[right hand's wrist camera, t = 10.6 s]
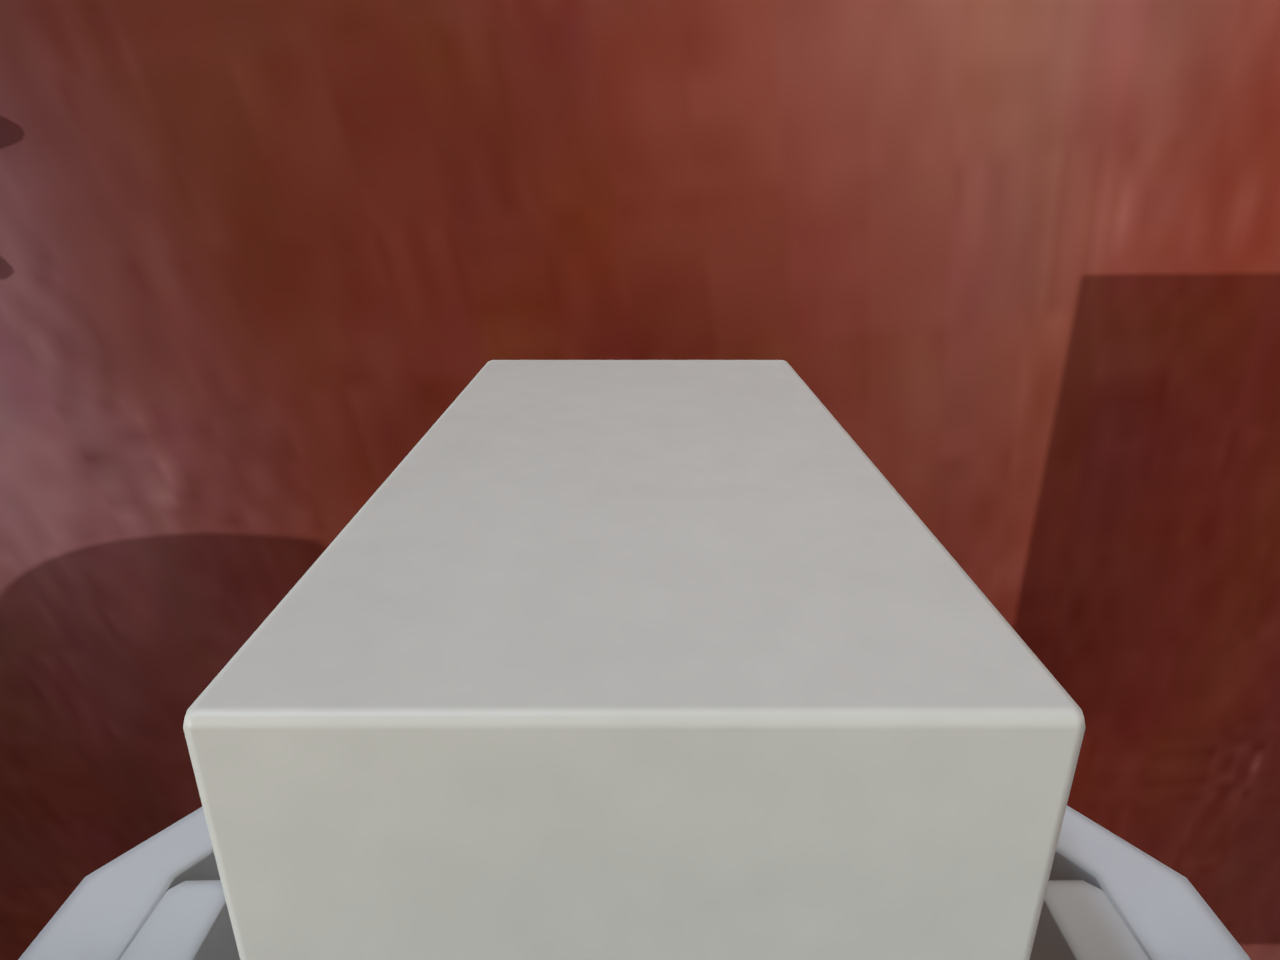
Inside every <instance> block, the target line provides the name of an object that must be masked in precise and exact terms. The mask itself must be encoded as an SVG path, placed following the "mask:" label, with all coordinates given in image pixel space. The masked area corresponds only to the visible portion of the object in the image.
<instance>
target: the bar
mask: <svg viewBox="0 0 1280 960" xmlns="http://www.w3.org/2000/svg"><path fill="white" fill-rule="evenodd" d="M1085 728H1086V727H1085V720H1084V716H1083V712H1082V709H1081V708H1080V707H1079V706H1078V705H1077V703H1076V702H1075V701H1074V700H1073V699H1072V698H1071V696H1070V695H1069V694H1068V693H1067V692H1066V691H1065V689H1064V688H1063V687H1062V686H1061V685H1060V683H1059V682H1058V681H1057V680H1056V679H1055V678H1054V676H1053V675H1052V674H1051V673H1050V672H1049V670H1048V669H1047V668H1046V667H1045V666H1044V665H1043V663H1042V662H1041V661H1040V660H1039V659H1038V657H1037V656H1036V655H1035V654H1034V653H1033V652H1032V650H1031V649H1030V648H1029V647H1028V646H1027V644H1026V643H1025V642H1024V641H1023V640H1022V639H1021V637H1020V636H1019V635H1018V634H1017V633H1016V632H1015V630H1014V629H1013V628H1012V627H1011V626H1010V624H1009V623H1008V622H1007V621H1006V620H1005V619H1004V617H1003V616H1002V615H1001V614H1000V613H999V611H998V610H997V609H996V608H995V607H994V606H993V604H992V603H991V602H990V601H989V600H988V598H987V597H986V596H985V595H984V594H983V593H982V591H981V590H980V589H979V588H978V587H977V585H976V584H975V583H974V582H973V581H972V580H971V578H970V577H969V576H968V575H967V574H966V572H965V571H964V570H963V569H962V568H961V567H960V565H959V564H958V563H957V562H956V561H955V560H954V558H953V557H952V556H951V555H950V554H949V552H948V551H947V550H946V549H945V548H944V547H943V545H942V544H941V543H940V542H939V541H938V539H937V538H936V537H935V536H934V535H933V534H932V532H931V531H930V530H929V529H928V528H927V526H926V525H925V524H924V523H923V522H922V521H921V519H920V518H919V517H918V516H917V515H916V513H915V512H914V511H913V510H912V509H911V508H910V506H909V505H908V504H907V503H906V502H905V501H904V499H903V498H902V497H901V496H900V495H899V493H898V492H897V491H896V490H895V489H894V488H893V486H892V485H891V484H890V483H889V482H888V480H887V479H886V478H885V477H884V476H883V475H882V473H881V472H880V471H879V470H878V469H877V467H876V466H875V465H874V464H873V463H872V462H871V460H870V459H869V458H868V457H867V456H866V454H865V453H864V452H863V451H862V450H861V449H860V447H859V446H858V445H857V444H856V443H855V442H854V440H853V439H852V438H851V437H850V436H849V434H848V433H847V432H846V431H845V430H844V429H843V427H842V426H841V425H840V424H839V423H838V421H837V420H836V419H835V418H834V417H833V416H832V414H831V413H830V412H829V411H828V410H827V408H826V407H825V406H824V405H823V404H822V403H821V401H820V400H819V399H818V398H817V397H816V395H815V394H814V393H813V392H812V391H811V390H810V388H809V387H808V386H807V385H806V384H805V383H804V381H803V380H802V379H801V378H800V377H799V375H798V374H797V373H796V372H795V371H794V370H793V368H792V367H791V366H790V365H789V364H788V362H786V361H784V360H491V361H489V362H487V364H486V365H485V366H484V367H483V368H482V369H481V370H480V372H479V373H478V374H477V375H476V376H475V377H474V379H473V380H472V381H471V382H470V383H469V384H468V386H467V387H466V388H465V389H464V390H463V391H462V392H461V394H460V395H459V396H458V397H457V398H456V399H455V401H454V402H453V403H452V404H451V405H450V406H449V408H448V409H447V410H446V411H445V412H444V413H443V414H442V416H441V417H440V418H439V419H438V420H437V421H436V423H435V424H434V425H433V426H432V427H431V428H430V429H429V431H428V432H427V433H426V434H425V435H424V436H423V438H422V439H421V440H420V441H419V442H418V443H417V445H416V446H415V447H414V448H413V449H412V450H411V451H410V453H409V454H408V455H407V456H406V457H405V458H404V460H403V461H402V462H401V463H400V464H399V465H398V467H397V468H396V469H395V470H394V471H393V472H392V473H391V475H390V476H389V477H388V478H387V479H386V480H385V482H384V483H383V484H382V485H381V486H380V487H379V489H378V490H377V491H376V492H375V493H374V494H373V495H372V497H371V498H370V499H369V500H368V501H367V502H366V504H365V505H364V506H363V507H362V508H361V509H360V510H359V512H358V513H357V514H356V515H355V516H354V517H353V519H352V520H351V521H350V522H349V523H348V524H347V526H346V527H345V528H344V529H343V530H342V531H341V532H340V534H339V535H338V536H337V537H336V538H335V539H334V541H333V542H332V543H331V544H330V545H329V546H328V548H327V549H326V550H325V551H324V552H323V553H322V554H321V556H320V557H319V558H318V559H317V560H316V561H315V563H314V564H313V565H312V566H311V567H310V568H309V570H308V571H307V572H306V573H305V574H304V575H303V576H302V578H301V579H300V580H299V581H298V582H297V583H296V585H295V586H294V587H293V588H292V589H291V590H290V591H289V593H288V594H287V595H286V596H285V597H284V598H283V600H282V601H281V602H280V603H279V604H278V605H277V607H276V608H275V609H274V610H273V611H272V612H271V613H270V615H269V616H268V617H267V618H266V619H265V620H264V622H263V623H262V624H261V625H260V626H259V627H258V629H257V630H256V631H255V632H254V633H253V634H252V635H251V637H250V638H249V639H248V640H247V641H246V642H245V644H244V645H243V646H242V647H241V648H240V649H239V650H238V652H237V653H236V654H235V655H234V656H233V657H232V659H231V660H230V661H229V662H228V663H227V664H226V666H225V667H224V668H223V669H222V670H221V671H220V672H219V674H218V675H217V676H216V677H215V678H214V679H213V681H212V682H211V683H210V684H209V685H208V686H207V688H206V689H205V690H204V691H203V692H202V693H201V694H200V696H199V697H198V698H197V699H196V700H195V701H194V703H193V704H192V705H191V706H190V707H189V708H188V710H187V712H186V715H185V718H184V725H183V730H184V734H185V738H186V742H187V746H188V750H189V754H190V758H191V762H192V766H193V770H194V774H195V778H196V782H197V786H198V790H199V794H200V798H201V803H202V807H203V811H204V815H205V819H206V823H207V827H208V831H209V835H210V839H211V843H212V847H213V851H214V855H215V859H216V863H217V867H218V871H219V875H220V880H221V884H222V888H223V892H224V896H225V900H226V904H227V908H228V912H229V916H230V920H231V924H232V928H233V932H234V936H235V940H236V944H237V948H238V952H239V957H240V960H1030V956H1031V951H1032V947H1033V943H1034V939H1035V935H1036V931H1037V927H1038V922H1039V918H1040V914H1041V910H1042V906H1043V902H1044V898H1045V893H1046V889H1047V885H1048V881H1049V877H1050V873H1051V869H1052V864H1053V860H1054V856H1055V852H1056V848H1057V844H1058V840H1059V835H1060V831H1061V827H1062V823H1063V819H1064V815H1065V811H1066V806H1067V802H1068V798H1069V794H1070V790H1071V786H1072V782H1073V777H1074V773H1075V769H1076V765H1077V761H1078V757H1079V753H1080V748H1081V744H1082V740H1083V736H1084V732H1085Z"/></svg>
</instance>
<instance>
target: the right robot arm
mask: <svg viewBox="0 0 1280 960" xmlns="http://www.w3.org/2000/svg"><path fill="white" fill-rule="evenodd" d="M18 960H240V957H239V952H238V948H237V944H236V940H235V936H234V932H233V928H232V924H231V920H230V916H229V912H228V908H227V904H226V900H225V896H224V892H223V888H222V884H221V880H220V875H219V871H218V867H217V863H216V859H215V855H214V851H213V847H212V843H211V839H210V835H209V831H208V827H207V823H206V819H205V815H204V811H203V807H201V808H199V809H197V810H196V811H194V812H192V813H191V814H189V815H187V816H186V817H184V818H182V819H181V820H179V821H177V822H176V823H174V824H172V825H171V826H169V827H167V828H166V829H164V830H162V831H161V832H159V833H157V834H156V835H154V836H152V837H151V838H149V839H147V840H146V841H144V842H142V843H141V844H139V845H137V846H136V847H134V848H132V849H131V850H129V851H127V852H126V853H124V854H122V855H121V856H119V857H117V858H116V859H114V860H112V861H111V862H109V863H107V864H106V865H104V866H102V867H101V868H99V869H97V870H96V871H94V872H92V873H91V874H89V875H87V876H86V877H85V878H84V879H83V880H82V881H81V883H80V884H79V885H78V886H77V887H76V889H75V890H74V891H73V892H72V894H71V895H70V896H69V897H68V899H67V900H66V901H65V902H64V904H63V905H62V906H61V907H60V908H59V910H58V911H57V912H56V913H55V915H54V916H53V917H52V918H51V920H50V921H49V922H48V923H47V925H46V926H45V927H44V928H43V929H42V931H41V932H40V933H39V934H38V936H37V937H36V938H35V939H34V941H33V942H32V943H31V944H30V946H29V947H28V948H27V949H26V950H25V952H24V953H23V954H22V955H21V957H20V958H19V959H18ZM1030 960H1251V959H1250V958H1249V956H1248V955H1247V954H1246V953H1245V951H1244V950H1243V949H1242V947H1241V946H1240V945H1239V944H1238V942H1237V941H1236V940H1235V939H1234V937H1233V936H1232V935H1231V934H1230V932H1229V931H1228V930H1227V928H1226V927H1225V926H1224V925H1223V923H1222V922H1221V921H1220V920H1219V918H1218V917H1217V916H1216V915H1215V913H1214V912H1213V911H1212V909H1211V908H1210V907H1209V906H1208V904H1207V903H1206V902H1205V901H1204V899H1203V898H1202V897H1201V896H1200V894H1199V893H1198V892H1197V890H1196V889H1195V888H1194V887H1193V885H1192V884H1191V883H1190V882H1189V880H1188V879H1187V878H1186V877H1184V876H1182V875H1181V874H1179V873H1178V872H1176V871H1174V870H1173V869H1171V868H1169V867H1168V866H1166V865H1164V864H1163V863H1161V862H1159V861H1158V860H1156V859H1154V858H1153V857H1151V856H1150V855H1148V854H1146V853H1145V852H1143V851H1141V850H1140V849H1138V848H1136V847H1135V846H1133V845H1131V844H1130V843H1128V842H1127V841H1125V840H1123V839H1122V838H1120V837H1118V836H1117V835H1115V834H1113V833H1112V832H1110V831H1108V830H1107V829H1105V828H1103V827H1102V826H1100V825H1099V824H1097V823H1095V822H1094V821H1092V820H1090V819H1089V818H1087V817H1085V816H1084V815H1082V814H1080V813H1079V812H1077V811H1076V810H1074V809H1072V808H1071V807H1069V806H1066V811H1065V815H1064V819H1063V823H1062V827H1061V831H1060V835H1059V840H1058V844H1057V848H1056V852H1055V856H1054V860H1053V864H1052V869H1051V873H1050V877H1049V881H1048V885H1047V889H1046V893H1045V898H1044V902H1043V906H1042V910H1041V914H1040V918H1039V922H1038V927H1037V931H1036V935H1035V939H1034V943H1033V947H1032V951H1031V956H1030Z"/></svg>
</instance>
